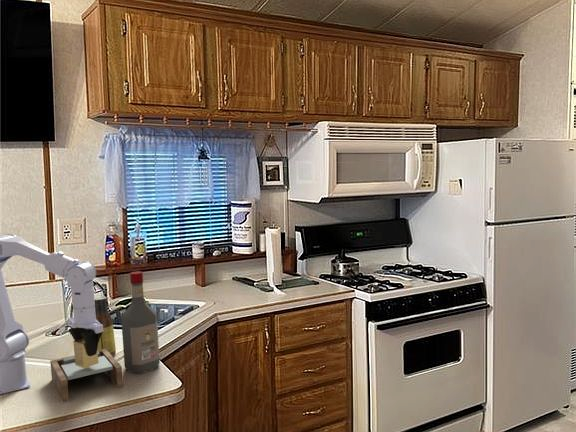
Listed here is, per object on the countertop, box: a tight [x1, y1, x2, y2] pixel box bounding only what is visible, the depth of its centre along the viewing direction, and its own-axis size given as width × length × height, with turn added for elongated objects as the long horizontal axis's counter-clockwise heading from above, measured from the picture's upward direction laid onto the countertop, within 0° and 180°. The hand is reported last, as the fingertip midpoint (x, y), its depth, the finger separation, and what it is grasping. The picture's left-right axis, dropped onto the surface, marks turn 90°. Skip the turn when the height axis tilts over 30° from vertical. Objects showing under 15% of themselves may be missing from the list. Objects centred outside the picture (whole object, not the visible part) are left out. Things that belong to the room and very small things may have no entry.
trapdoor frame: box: [49, 349, 124, 403], centre depth 152 cm, size 18×16×6 cm
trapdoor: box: [61, 350, 113, 381], centre depth 151 cm, size 14×12×3 cm
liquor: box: [121, 270, 161, 374], centre depth 161 cm, size 9×9×30 cm
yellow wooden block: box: [72, 338, 98, 368], centre depth 147 cm, size 4×4×7 cm
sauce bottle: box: [94, 296, 117, 357], centre depth 172 cm, size 6×6×20 cm
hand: (87, 353), depth 147 cm, fingers closed on yellow wooden block, 4 cm apart
